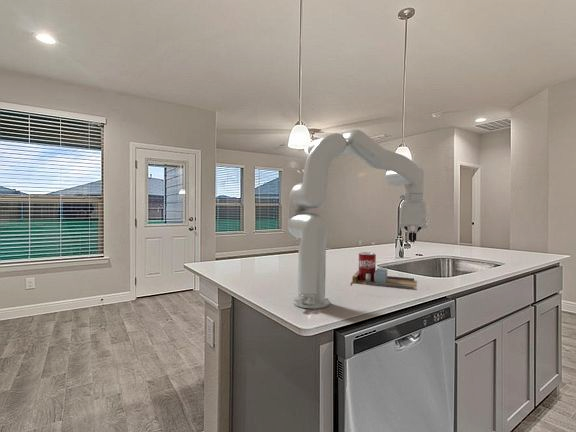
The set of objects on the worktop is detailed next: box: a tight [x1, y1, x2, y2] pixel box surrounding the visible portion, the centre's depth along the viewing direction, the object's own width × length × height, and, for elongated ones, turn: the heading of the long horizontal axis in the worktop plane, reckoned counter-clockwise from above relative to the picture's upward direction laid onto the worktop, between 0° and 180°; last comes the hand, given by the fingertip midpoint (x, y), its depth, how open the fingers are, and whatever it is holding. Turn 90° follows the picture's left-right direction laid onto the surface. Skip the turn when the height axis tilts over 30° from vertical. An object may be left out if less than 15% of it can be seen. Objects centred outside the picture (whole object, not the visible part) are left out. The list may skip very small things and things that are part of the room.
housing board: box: [350, 270, 418, 291], centre depth 137 cm, size 16×26×5 cm, turn 68°
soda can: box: [358, 251, 377, 282], centre depth 140 cm, size 7×7×12 cm
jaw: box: [374, 267, 388, 284], centre depth 138 cm, size 11×4×5 cm, turn 158°
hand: (412, 242), depth 133 cm, fingers closed
